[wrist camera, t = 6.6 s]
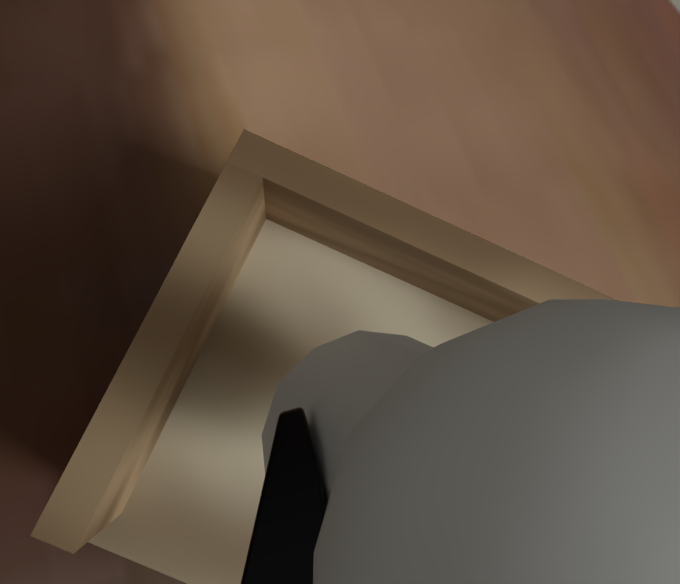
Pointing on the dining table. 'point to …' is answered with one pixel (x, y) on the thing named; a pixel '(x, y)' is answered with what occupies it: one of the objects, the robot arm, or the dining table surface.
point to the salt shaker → (499, 449)
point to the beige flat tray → (262, 350)
